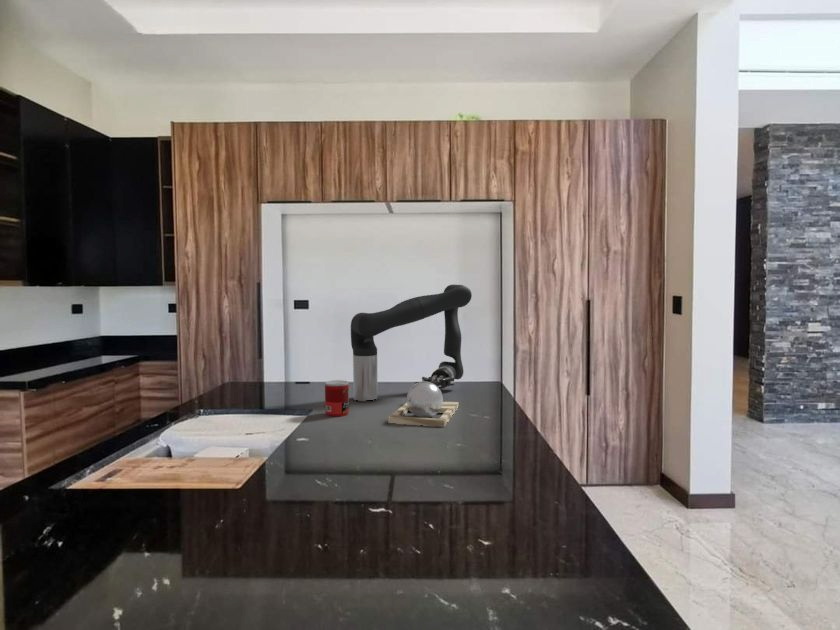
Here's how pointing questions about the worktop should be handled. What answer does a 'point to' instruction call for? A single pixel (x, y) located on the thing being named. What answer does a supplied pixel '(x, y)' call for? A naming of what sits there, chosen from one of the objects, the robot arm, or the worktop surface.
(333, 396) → the canned food
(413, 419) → the hole board
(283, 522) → the worktop surface
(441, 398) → the ball
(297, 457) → the worktop surface
